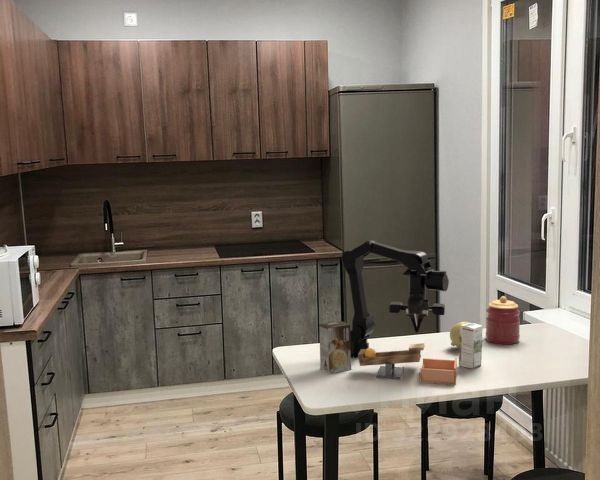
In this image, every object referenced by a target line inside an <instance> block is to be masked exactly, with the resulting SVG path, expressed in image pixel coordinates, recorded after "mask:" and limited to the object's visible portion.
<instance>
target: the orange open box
mask: <svg viewBox="0 0 600 480" xmlns="http://www.w3.org/2000/svg"><path fill="white" fill-rule="evenodd" d="M457 366H458V357H454V360H453V359H442V358H441V359H440V358H439V359H438V358H425V357H424V358H422V365H421V368H420V371H419V372H420V373H419V374H420V375H419V378H420V379H419V382H420V383H427V384H441V385H442V384H443V385H444V384H445V385H455V386H456V385H457V384H456V383H457V375H458V374H457V373H458V372H457V369H458V368H457Z"/></svg>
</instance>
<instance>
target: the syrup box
mask: <svg viewBox="0 0 600 480" xmlns="http://www.w3.org/2000/svg"><path fill="white" fill-rule="evenodd" d="M483 327H484V326H483V325H481V324H478V323H475V322H474V323H473V322H469V323H467V324H464V325H461V326H460V337H459V347H458V366H460V367H463V368H468V369H472V370H473V369H476V368H478V367H480V366H481V365H482V355H483V353H482V349H483Z"/></svg>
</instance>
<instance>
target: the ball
mask: <svg viewBox="0 0 600 480" xmlns="http://www.w3.org/2000/svg"><path fill="white" fill-rule="evenodd" d="M364 356H365V358H371V357H375V356H376V350H375V349H374V348H372V347H369V348H368V349H366V350H365V352H364Z"/></svg>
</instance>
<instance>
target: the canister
mask: <svg viewBox="0 0 600 480" xmlns="http://www.w3.org/2000/svg"><path fill="white" fill-rule="evenodd" d="M518 308H519V305H518V304H517V303H516V302H515V301H512V300H509V299H507V297H506V296H504V295H502V296H501V297H500V298H499V299H495V300H492V301H490V302H489V303H488V308H486V309H485V312H486V317H485V321H486V322H485V339H486V340H487V341H488V342H491V343H494V344H499V345H500V344H501V345H511V344H516V343H519V341H520V338H521V337H520V336H521V334H520V324H521V323H520V321H521V318H520V314H521V310H520V309H518Z"/></svg>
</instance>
